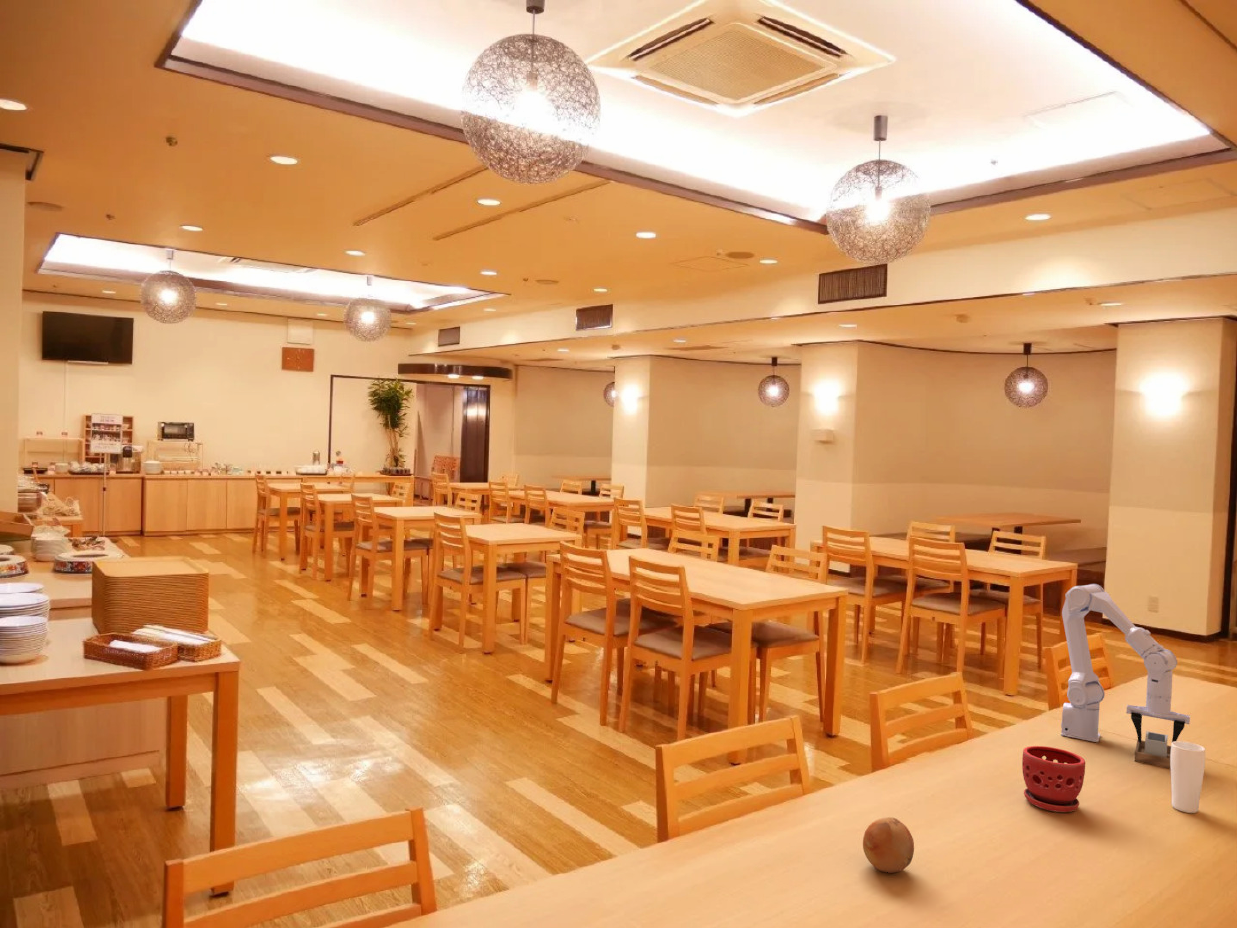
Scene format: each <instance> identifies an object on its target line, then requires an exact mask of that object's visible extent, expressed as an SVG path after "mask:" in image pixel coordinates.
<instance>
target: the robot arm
mask: <svg viewBox="0 0 1237 928" xmlns="http://www.w3.org/2000/svg"><path fill="white" fill-rule="evenodd" d="M1064 595H1065V596H1064V597H1065V600H1064V603H1063V607H1062V610H1061V616H1062V621H1063V627H1064V632H1065V634H1064V635H1065V638H1066V644H1067V651H1068V654H1069V655H1068V657H1069V663H1070V668H1071V674H1070V676H1069V678H1068V680H1067V683H1068V688H1067V692H1066V695H1067V699H1068V701H1069V702H1064V703H1063V705H1062V713H1061V724H1060V727H1061V733H1060V735H1061V736H1063V737H1069V738H1074V739H1078V740H1083V741H1088V742H1094V743H1099V741H1100V738H1101V733H1099V723H1100V722H1099V721H1100V703H1101V702H1102V701H1104V699H1105V694H1106V692H1105V689H1104V687H1103V686H1102V684H1101V683H1100V679H1099V676H1098V675H1097V674H1096V673H1095V672H1094V669H1093V663H1092V657H1091V652H1090V648H1089V642H1088V635H1087V630H1086V629H1087V628H1086V624H1085V616H1087V614H1089V612H1090V611H1091V612H1092V611H1093V612H1097V613H1101V614H1103V615H1104V616H1105V617H1106V618H1107V619H1108V620H1110V621H1111V623H1113V624H1114V626H1116V627H1117V628H1118V629H1119V630H1120V631H1121V632H1122V633H1123V634H1124V640H1125V642H1126V643H1127V644H1128V645H1129V646H1130V647H1131V648H1132V649H1133V650H1134V651H1135V652H1136V653H1137V654H1138V655H1139V656H1140V658H1141V659H1142V660H1143V665H1144V667H1145V669H1146V670H1147V678H1146V682H1147V683H1146V695H1145V696H1146V697H1145V699H1146V700H1145V706H1141V705H1130V704H1127V705H1126V714H1128V715H1129V714H1130V718H1131V719H1130V720H1131V721H1132V724H1133V726H1134V728H1135V732H1136V736H1137V740H1138V742H1141V740H1142V736H1143V735H1142V725H1143V723H1142V722H1143V716H1144V717H1150V718H1155V719H1160V720H1161V719H1162V720H1165V721H1172V722H1173V726H1172V727H1173V729H1172V739H1171V743H1172V742H1174V741H1178V739H1179V736H1180V735H1181V733H1182V731H1183V730H1184V729H1185V725H1190V723H1191V716H1190V715H1188V714H1183V713H1179V712H1176V711H1172V710H1171V709H1172V693H1173V692H1172V691H1173V690H1172V689H1173V673H1174V671H1173V670H1175V669H1176V667H1177V665H1178V660H1177V657H1176V655H1175V654H1174V652H1173V651H1171V650H1169V649H1167V648H1165V647H1164V646H1163V645H1162V644H1159V643H1158V642H1157V641H1156V640H1155V638H1153V636H1151V634H1152V633H1151V632H1150V631H1149V630H1148V629H1145V628H1143V627H1138V626H1136V625H1135V624H1134V623H1133V622H1132V621H1131V620H1130V618H1129V617H1128V616H1127V615H1126V614H1125V613H1124V612H1123V610H1121V608H1120V607H1119V606H1118V604H1116V603H1115V601H1114V600H1113V599H1112V597H1111V595H1110V594H1109V593H1108V592H1107V591H1105V589H1104V588H1103V587H1102V585H1099V584H1097V583H1089V584H1085V585H1076V586H1075V585H1074V586H1072V587H1071V588H1070V589H1069V590H1067V592H1066V593H1065V594H1064Z"/></svg>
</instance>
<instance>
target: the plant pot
mask: <svg viewBox="0 0 1237 928" xmlns="http://www.w3.org/2000/svg"><path fill="white" fill-rule="evenodd" d="M1043 757H1045V759H1043ZM1055 761H1057V762H1055ZM1021 767H1022V768H1021V769H1022V777H1023V781H1024V783H1025V786H1026V789H1024V791H1023V795H1024V797H1025V799H1026V800H1027V801H1028V802H1029V803H1030V804H1032V805H1034V806H1035V807H1037V808H1040V809H1043V810H1046V811H1049V812H1050V813H1054V812H1055V813H1056V812H1057V813H1068V812H1072V811H1073V812H1074V811H1075V810H1076V809H1078V808H1079V806H1080V801H1079V799H1078V798H1077V797H1079V795H1080V793H1081V792H1082V788H1083V785H1084V782H1085V781H1084V779H1085V774H1086V761H1085V758H1083V757H1082V756H1081V755H1079V754H1076V753H1075V752H1073V751H1068V750H1065V749H1061V748H1056V747H1051V746H1042V745H1032V746H1026V747H1025V748H1023V750H1022V766H1021Z"/></svg>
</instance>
